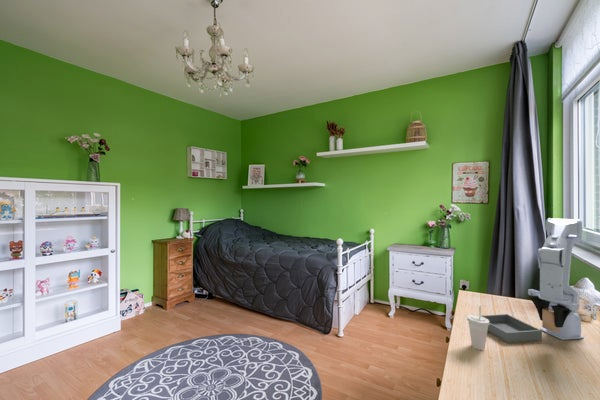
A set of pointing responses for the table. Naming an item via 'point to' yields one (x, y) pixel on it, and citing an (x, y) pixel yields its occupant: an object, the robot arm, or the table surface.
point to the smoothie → (478, 330)
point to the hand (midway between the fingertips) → (551, 323)
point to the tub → (512, 329)
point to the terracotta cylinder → (549, 320)
